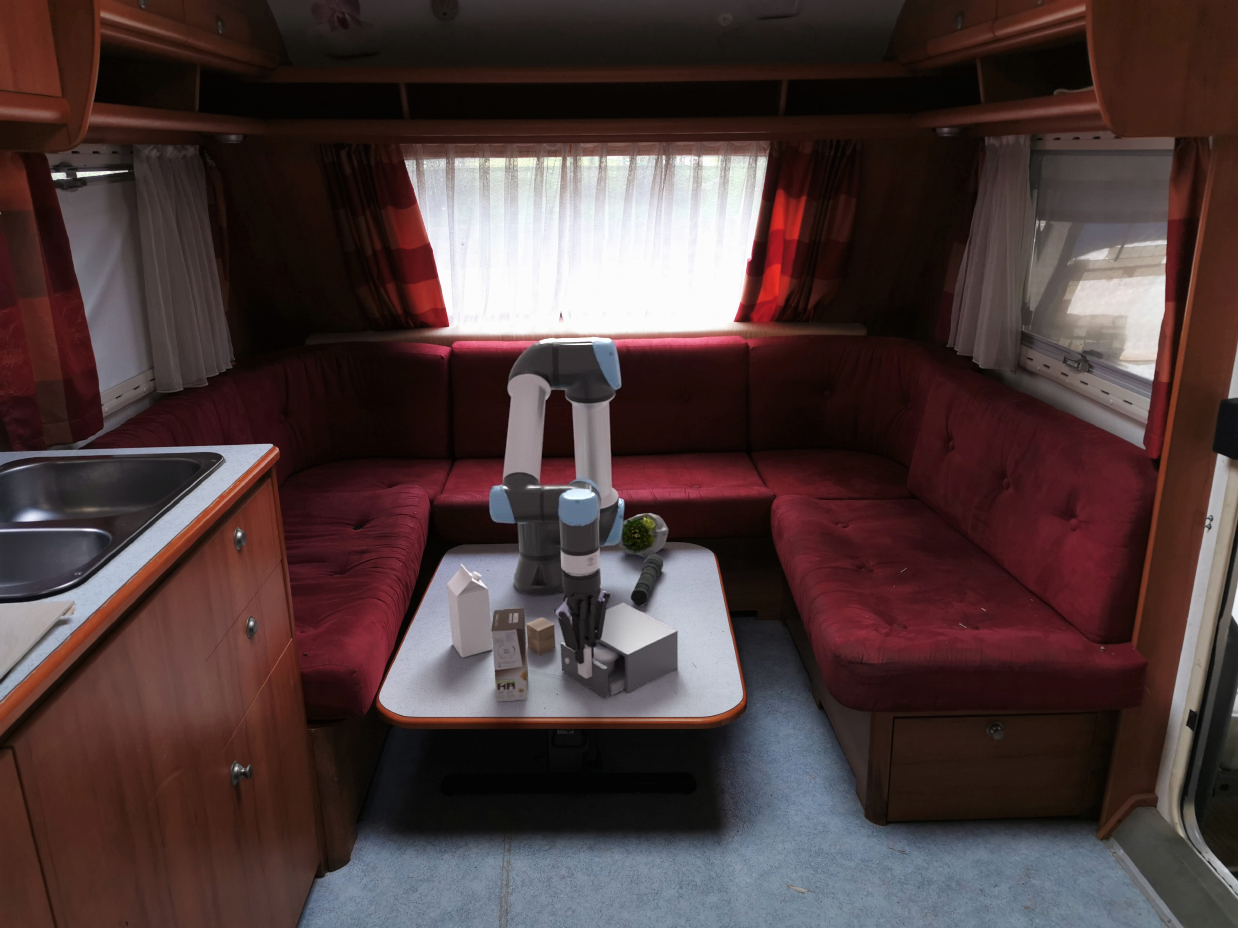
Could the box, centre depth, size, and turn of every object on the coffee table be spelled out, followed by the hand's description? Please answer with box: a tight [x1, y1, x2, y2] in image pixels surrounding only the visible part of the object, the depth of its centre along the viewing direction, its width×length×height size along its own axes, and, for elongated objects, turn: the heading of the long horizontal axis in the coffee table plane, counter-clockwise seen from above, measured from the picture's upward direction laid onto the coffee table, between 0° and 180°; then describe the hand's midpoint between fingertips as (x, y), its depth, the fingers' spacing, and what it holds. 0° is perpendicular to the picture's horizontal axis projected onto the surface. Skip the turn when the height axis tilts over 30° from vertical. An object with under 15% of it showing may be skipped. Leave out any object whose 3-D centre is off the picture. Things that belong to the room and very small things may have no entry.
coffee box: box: [491, 607, 529, 702], centre depth 183 cm, size 9×6×16 cm
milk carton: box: [446, 563, 493, 658], centre depth 198 cm, size 7×7×19 cm
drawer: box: [559, 641, 625, 699], centre depth 189 cm, size 15×14×7 cm
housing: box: [596, 602, 679, 695], centre depth 192 cm, size 17×14×9 cm
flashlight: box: [630, 553, 664, 607], centre depth 227 cm, size 5×21×5 cm, turn 167°
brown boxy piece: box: [525, 617, 557, 656], centre depth 199 cm, size 4×4×6 cm
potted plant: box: [618, 512, 669, 559], centre depth 244 cm, size 12×13×15 cm
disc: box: [593, 641, 620, 664], centre depth 187 cm, size 8×8×2 cm
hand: (585, 674), depth 183 cm, fingers closed
